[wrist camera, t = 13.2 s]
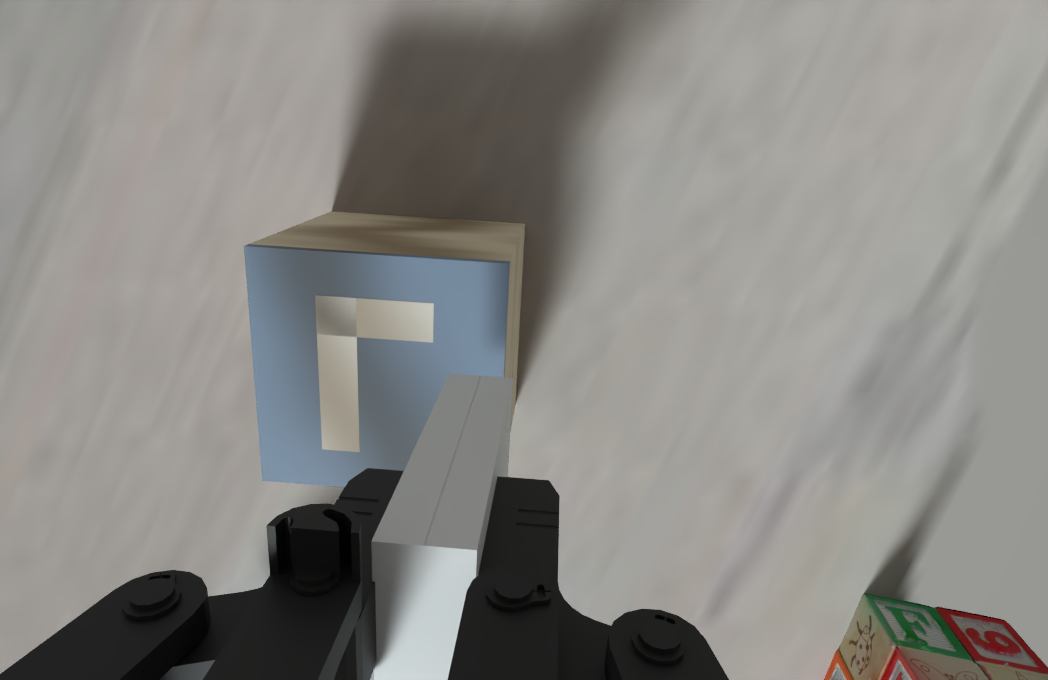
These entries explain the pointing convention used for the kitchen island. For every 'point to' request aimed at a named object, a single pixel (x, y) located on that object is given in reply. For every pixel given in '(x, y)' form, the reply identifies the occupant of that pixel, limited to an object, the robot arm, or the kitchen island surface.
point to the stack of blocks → (930, 645)
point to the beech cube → (373, 334)
